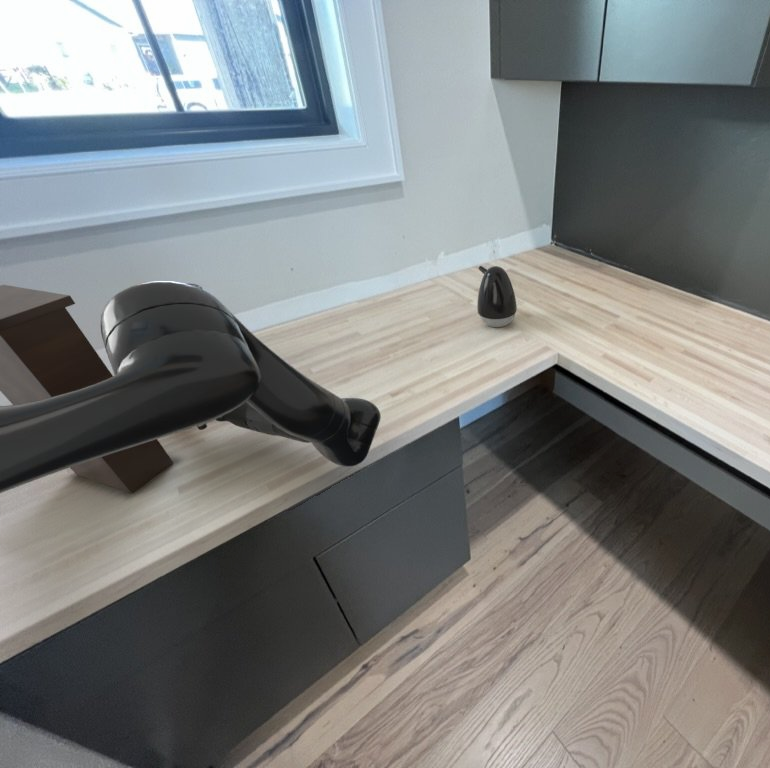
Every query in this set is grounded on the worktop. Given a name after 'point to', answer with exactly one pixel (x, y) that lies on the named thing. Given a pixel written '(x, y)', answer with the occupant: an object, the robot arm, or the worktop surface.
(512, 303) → the pump dispenser
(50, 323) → the stand
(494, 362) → the worktop surface
